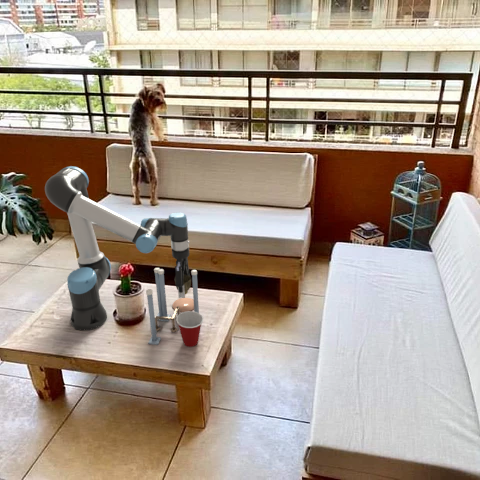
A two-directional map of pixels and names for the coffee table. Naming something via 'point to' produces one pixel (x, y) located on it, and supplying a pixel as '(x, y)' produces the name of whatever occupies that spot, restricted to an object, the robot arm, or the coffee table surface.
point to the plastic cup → (189, 327)
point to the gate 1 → (149, 292)
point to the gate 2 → (195, 291)
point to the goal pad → (184, 304)
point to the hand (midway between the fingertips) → (183, 292)
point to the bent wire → (168, 319)
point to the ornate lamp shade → (185, 283)
